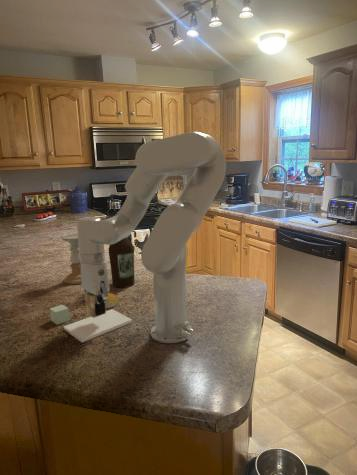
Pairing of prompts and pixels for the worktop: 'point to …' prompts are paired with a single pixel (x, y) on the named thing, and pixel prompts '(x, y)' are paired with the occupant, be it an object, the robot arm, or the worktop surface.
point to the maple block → (91, 304)
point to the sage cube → (59, 314)
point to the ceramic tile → (97, 325)
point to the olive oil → (122, 263)
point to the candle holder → (73, 260)
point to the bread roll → (111, 300)
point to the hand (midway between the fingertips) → (96, 311)
